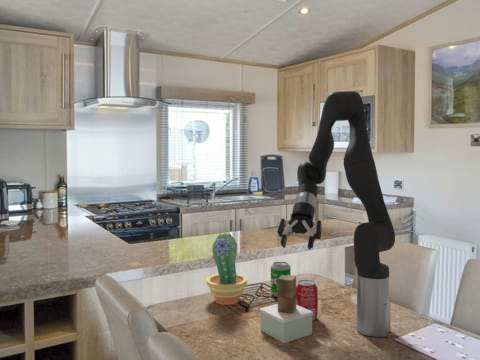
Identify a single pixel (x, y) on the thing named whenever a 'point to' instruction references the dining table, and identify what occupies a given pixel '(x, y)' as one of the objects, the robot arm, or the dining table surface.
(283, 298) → the walnut block
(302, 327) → the storage box
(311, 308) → the soda can
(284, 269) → the soda can
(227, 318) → the dining table surface
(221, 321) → the dining table surface
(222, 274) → the potted cactus
